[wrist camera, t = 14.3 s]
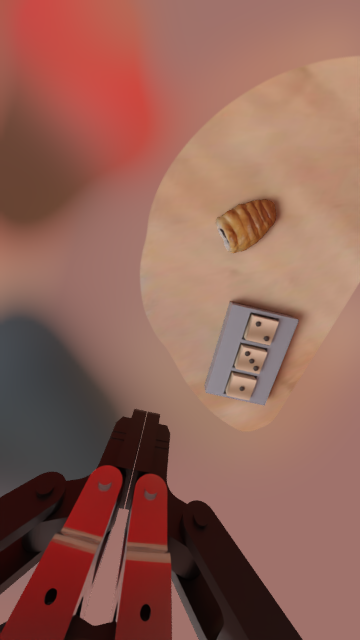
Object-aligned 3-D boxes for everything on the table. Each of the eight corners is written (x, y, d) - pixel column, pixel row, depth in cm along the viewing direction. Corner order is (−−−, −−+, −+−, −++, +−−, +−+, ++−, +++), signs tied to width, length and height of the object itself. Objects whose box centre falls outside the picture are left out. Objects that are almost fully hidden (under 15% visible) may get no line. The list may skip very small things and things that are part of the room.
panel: (229, 301, 40) (232, 304, 37) (292, 316, 40) (298, 320, 38) (204, 385, 44) (205, 392, 42) (260, 397, 45) (264, 405, 43)
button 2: (249, 312, 39) (254, 316, 36) (273, 318, 39) (279, 322, 37) (242, 335, 40) (246, 340, 38) (264, 340, 40) (270, 345, 38)
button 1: (231, 368, 42) (234, 376, 40) (252, 373, 42) (257, 381, 40) (224, 388, 43) (227, 396, 41) (245, 392, 43) (249, 401, 41)
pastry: (263, 189, 35) (272, 182, 31) (279, 228, 36) (290, 225, 33) (211, 222, 36) (214, 218, 33) (229, 258, 38) (234, 258, 34)
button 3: (240, 341, 41) (243, 347, 38) (262, 347, 41) (267, 353, 38) (233, 362, 42) (236, 369, 39) (254, 367, 42) (259, 374, 39)
